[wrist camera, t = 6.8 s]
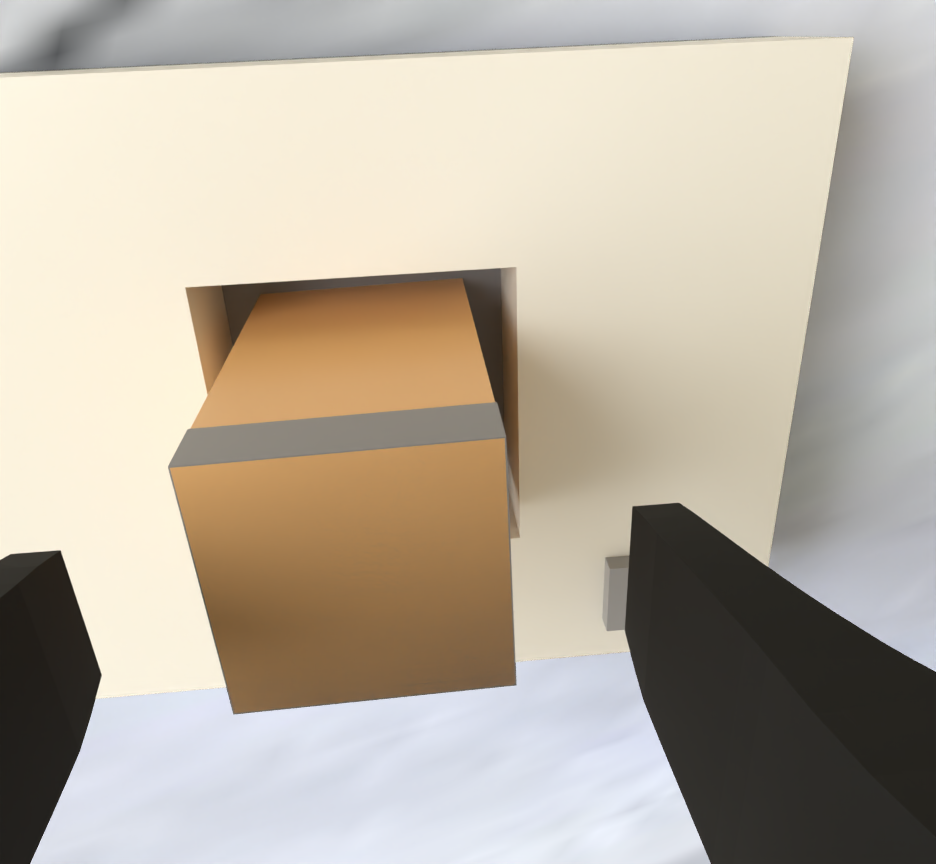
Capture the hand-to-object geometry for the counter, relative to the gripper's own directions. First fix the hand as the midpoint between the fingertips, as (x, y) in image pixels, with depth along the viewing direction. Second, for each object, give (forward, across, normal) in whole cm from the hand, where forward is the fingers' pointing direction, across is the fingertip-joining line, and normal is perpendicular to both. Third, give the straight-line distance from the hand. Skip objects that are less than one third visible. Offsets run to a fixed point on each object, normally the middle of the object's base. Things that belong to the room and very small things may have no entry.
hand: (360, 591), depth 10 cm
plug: (+7, 0, 0) cm, 7 cm away
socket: (+8, 0, 0) cm, 8 cm away
